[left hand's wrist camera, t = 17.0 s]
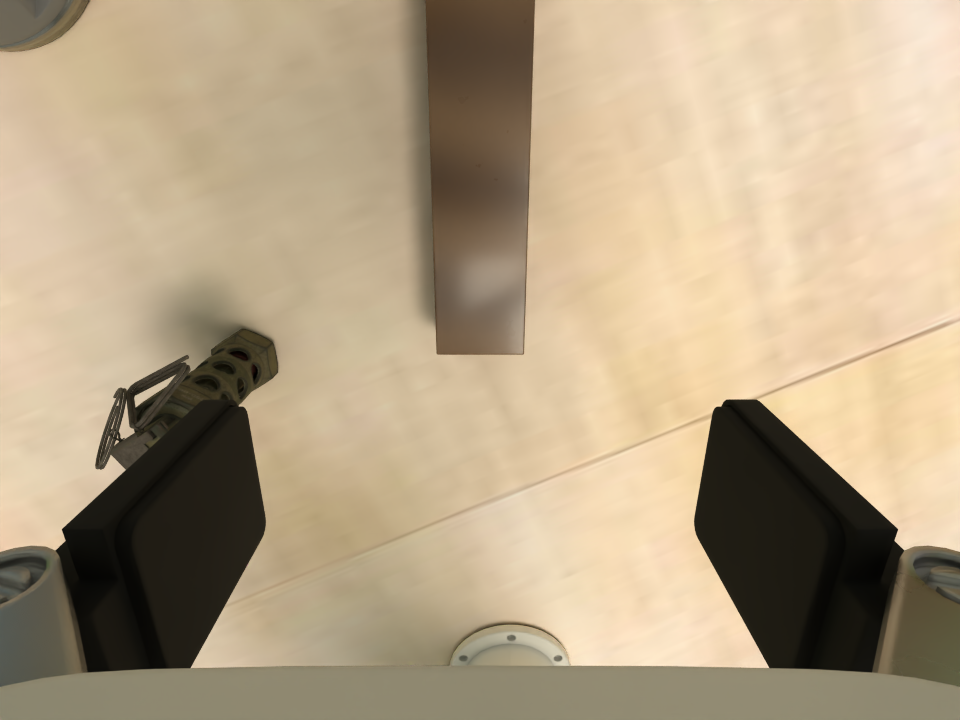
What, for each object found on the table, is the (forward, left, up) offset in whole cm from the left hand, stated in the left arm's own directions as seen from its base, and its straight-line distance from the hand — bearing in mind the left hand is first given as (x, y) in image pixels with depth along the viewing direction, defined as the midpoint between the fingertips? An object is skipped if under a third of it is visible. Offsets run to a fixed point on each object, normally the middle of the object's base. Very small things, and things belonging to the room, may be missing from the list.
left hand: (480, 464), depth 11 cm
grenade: (-10, +20, -32) cm, 39 cm away
